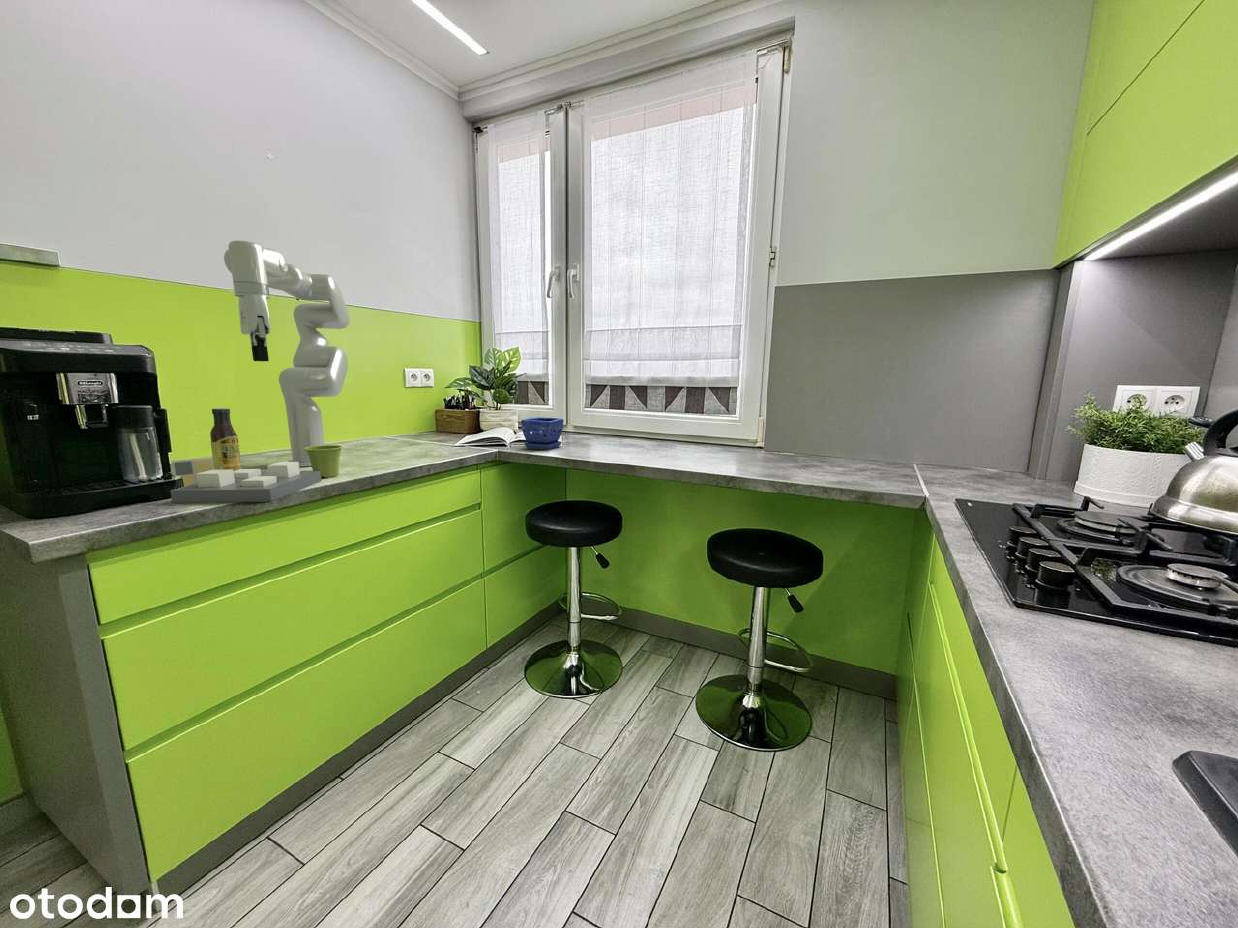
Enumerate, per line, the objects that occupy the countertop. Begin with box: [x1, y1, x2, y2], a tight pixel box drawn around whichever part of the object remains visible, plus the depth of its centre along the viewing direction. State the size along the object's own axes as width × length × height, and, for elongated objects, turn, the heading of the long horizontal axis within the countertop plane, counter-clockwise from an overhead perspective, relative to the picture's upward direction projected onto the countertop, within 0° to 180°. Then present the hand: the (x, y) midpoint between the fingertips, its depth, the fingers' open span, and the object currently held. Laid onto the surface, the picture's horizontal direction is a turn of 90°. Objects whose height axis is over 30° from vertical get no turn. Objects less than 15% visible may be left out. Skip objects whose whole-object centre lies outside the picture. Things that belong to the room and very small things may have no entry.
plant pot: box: [305, 444, 343, 479], centre depth 141 cm, size 9×9×9 cm
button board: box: [169, 470, 322, 504], centre depth 123 cm, size 22×22×3 cm
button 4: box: [266, 461, 301, 478], centre depth 128 cm, size 5×5×4 cm
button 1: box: [196, 470, 235, 487], centre depth 118 cm, size 5×5×4 cm
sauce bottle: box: [209, 407, 242, 471], centre depth 139 cm, size 6×6×20 cm
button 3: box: [241, 476, 277, 487], centre depth 119 cm, size 5×5×4 cm
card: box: [170, 456, 214, 486], centre depth 125 cm, size 1×8×8 cm, turn 134°
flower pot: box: [520, 417, 564, 451], centre depth 196 cm, size 13×13×12 cm
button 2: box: [233, 468, 262, 478], centre depth 128 cm, size 5×5×4 cm
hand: (261, 361), depth 133 cm, fingers closed
